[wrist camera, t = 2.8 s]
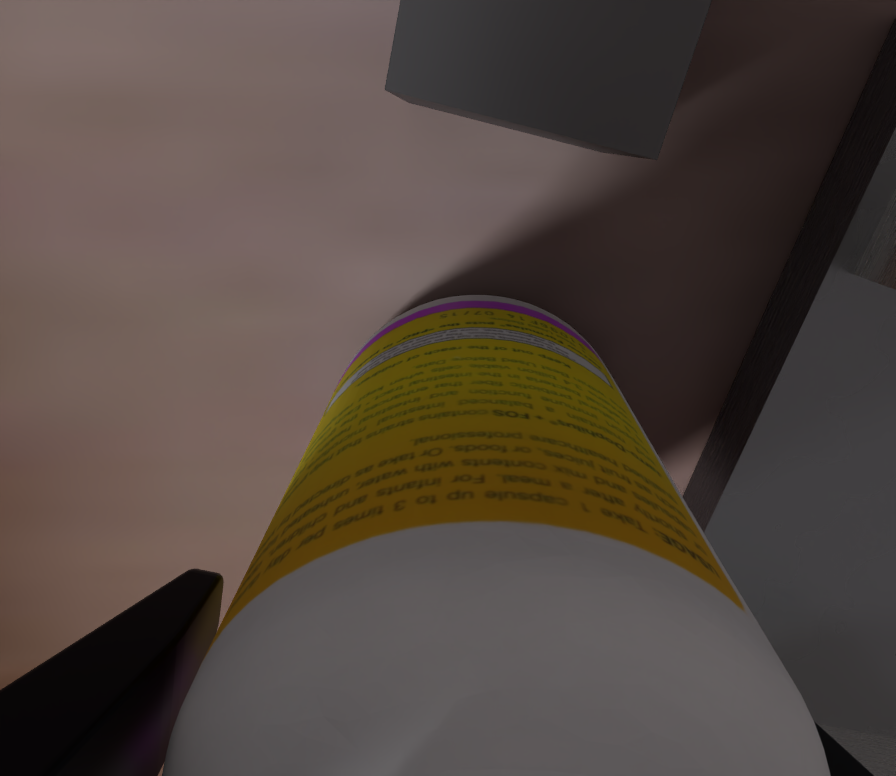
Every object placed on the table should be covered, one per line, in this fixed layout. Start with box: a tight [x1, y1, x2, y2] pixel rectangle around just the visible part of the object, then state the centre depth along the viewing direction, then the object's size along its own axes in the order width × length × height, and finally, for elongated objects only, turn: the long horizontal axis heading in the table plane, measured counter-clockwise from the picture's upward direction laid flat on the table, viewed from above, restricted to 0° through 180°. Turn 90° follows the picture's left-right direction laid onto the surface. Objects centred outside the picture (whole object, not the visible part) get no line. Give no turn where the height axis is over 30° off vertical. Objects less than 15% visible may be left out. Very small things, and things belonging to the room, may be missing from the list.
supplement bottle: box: [162, 295, 831, 776], centre depth 9 cm, size 7×7×13 cm
